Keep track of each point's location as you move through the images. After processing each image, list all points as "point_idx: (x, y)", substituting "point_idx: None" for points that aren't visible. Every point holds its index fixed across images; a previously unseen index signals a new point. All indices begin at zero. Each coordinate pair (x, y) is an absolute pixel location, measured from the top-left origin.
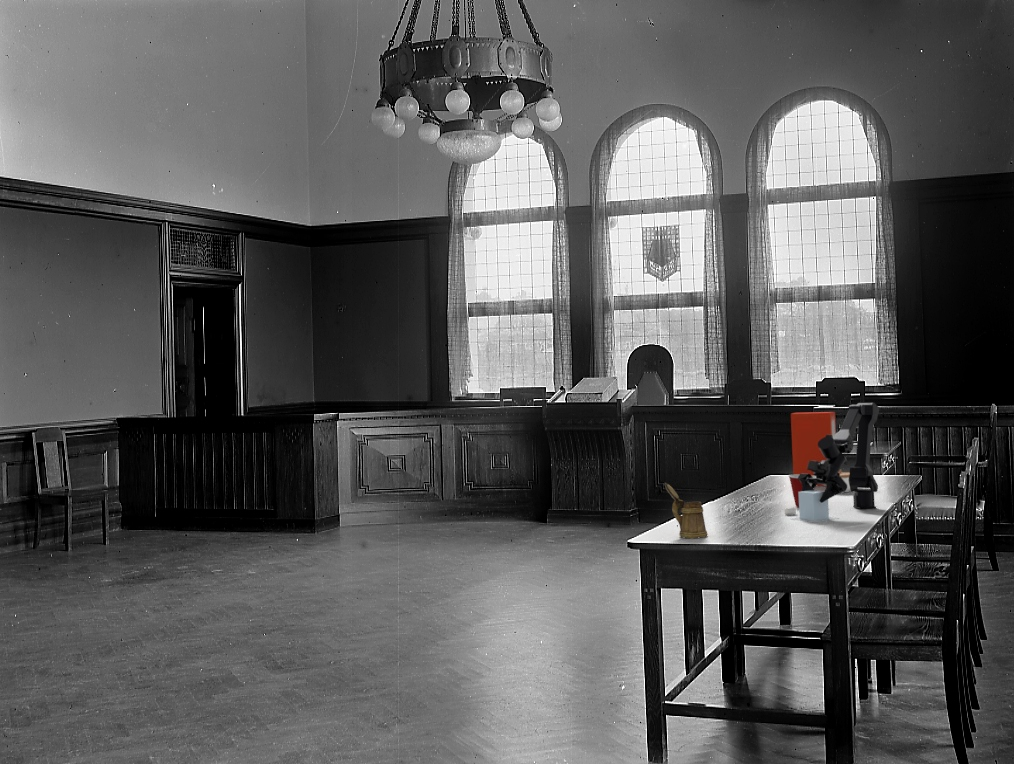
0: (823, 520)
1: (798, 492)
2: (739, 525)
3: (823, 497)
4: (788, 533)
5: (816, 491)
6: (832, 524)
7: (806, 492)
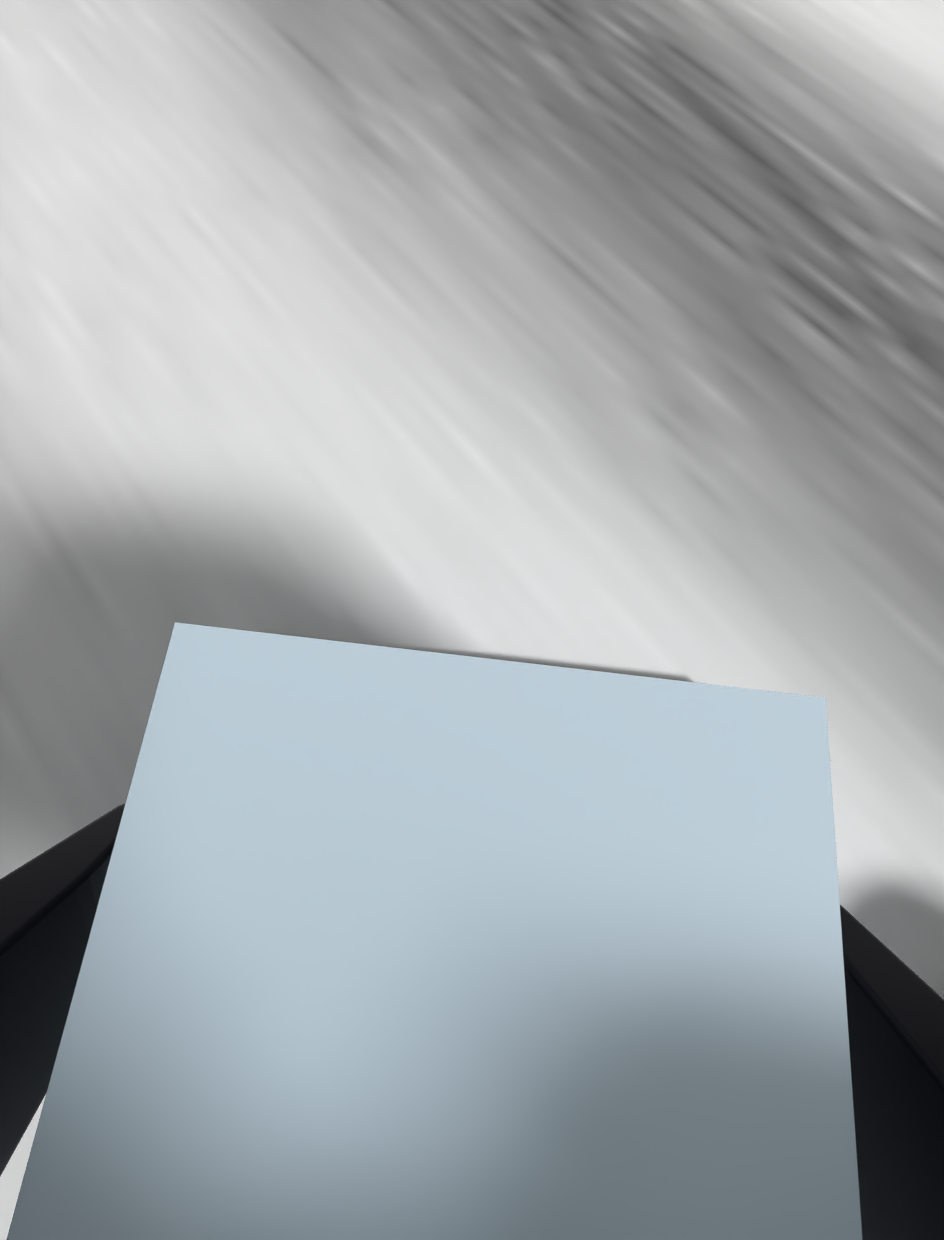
0: None
1: (814, 700)
2: (812, 183)
3: (11, 886)
4: (158, 89)
5: (380, 1181)
6: (22, 702)
7: (518, 718)
